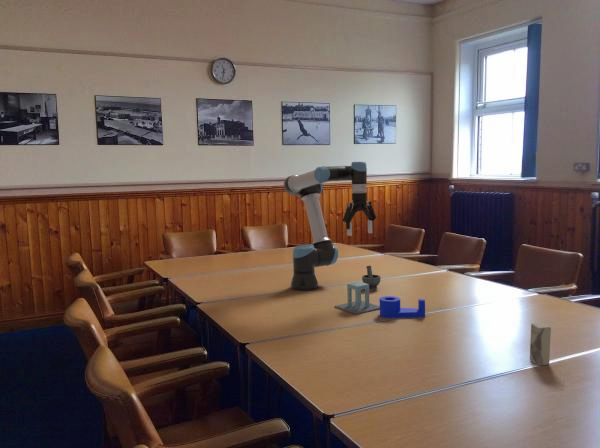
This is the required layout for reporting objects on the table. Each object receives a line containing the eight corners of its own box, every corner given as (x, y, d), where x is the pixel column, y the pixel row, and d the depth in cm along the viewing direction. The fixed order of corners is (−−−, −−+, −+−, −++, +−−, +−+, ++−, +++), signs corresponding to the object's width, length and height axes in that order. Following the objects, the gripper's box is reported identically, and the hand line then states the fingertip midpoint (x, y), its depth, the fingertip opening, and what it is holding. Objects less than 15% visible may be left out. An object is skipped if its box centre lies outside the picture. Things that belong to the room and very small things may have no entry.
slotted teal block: (347, 306, 245) (347, 283, 244) (359, 303, 249) (359, 281, 248) (357, 309, 239) (357, 286, 238) (369, 306, 243) (369, 284, 242)
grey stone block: (529, 360, 174) (529, 322, 173) (541, 359, 175) (542, 322, 173) (537, 366, 169) (538, 327, 168) (550, 365, 170) (551, 327, 168)
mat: (334, 307, 246) (334, 306, 246) (360, 301, 255) (360, 300, 255) (356, 314, 233) (356, 313, 233) (382, 308, 242) (382, 307, 242)
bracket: (379, 318, 227) (379, 301, 227) (379, 312, 236) (379, 296, 235) (425, 319, 224) (425, 301, 223) (423, 313, 233) (423, 296, 232)
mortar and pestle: (382, 290, 276) (382, 268, 275) (365, 291, 275) (364, 269, 274) (376, 285, 287) (376, 264, 286) (360, 286, 286) (359, 265, 285)
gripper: (344, 194, 251) (345, 237, 253) (382, 191, 265) (383, 232, 267) (335, 193, 257) (335, 236, 260) (373, 191, 271) (373, 231, 273)
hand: (360, 234), depth 263 cm, fingers open, 13 cm apart
